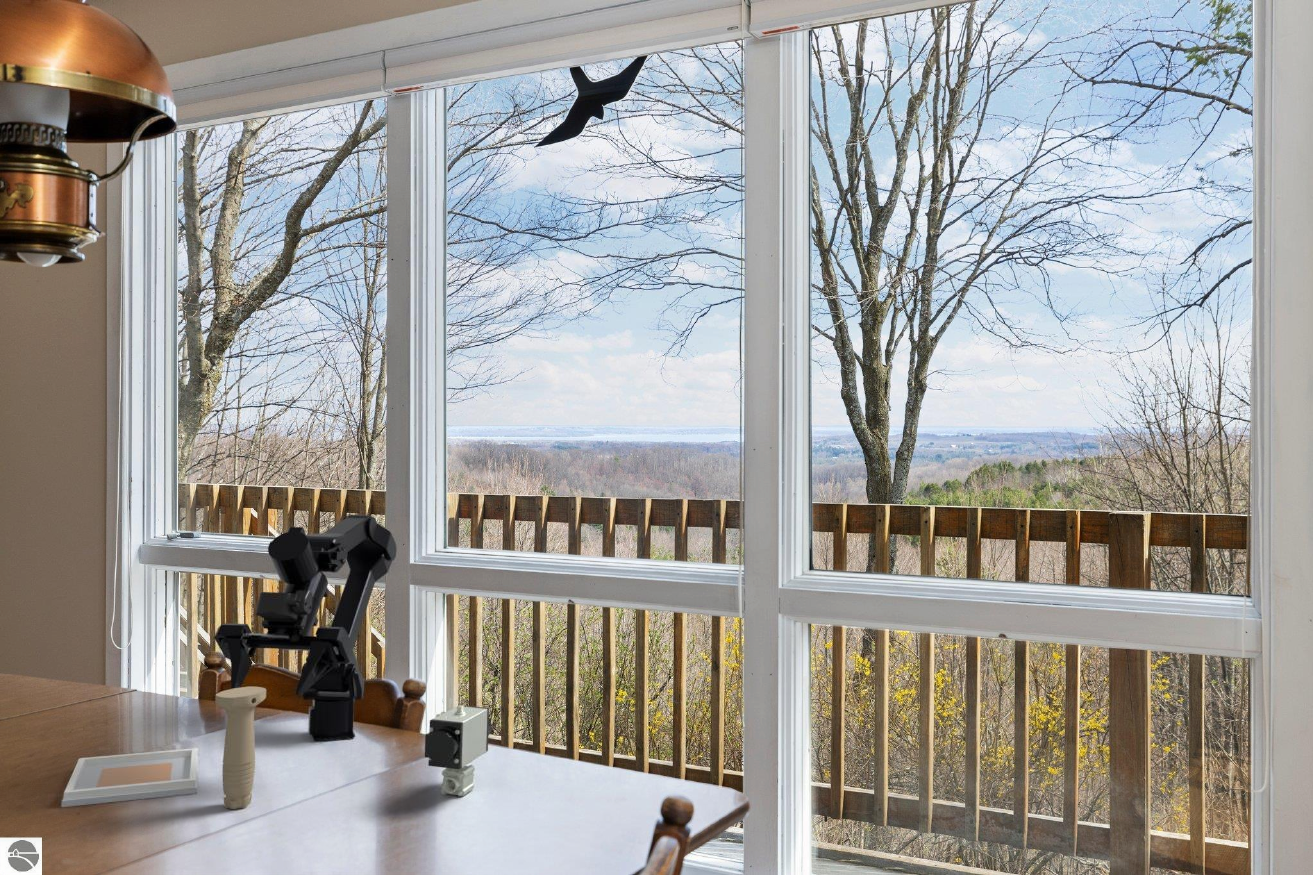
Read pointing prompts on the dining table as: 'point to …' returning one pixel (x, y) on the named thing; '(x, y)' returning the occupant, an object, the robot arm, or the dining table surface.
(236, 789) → the handle
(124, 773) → the white shallow tray
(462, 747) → the pneumatic valve
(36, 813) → the dining table surface
